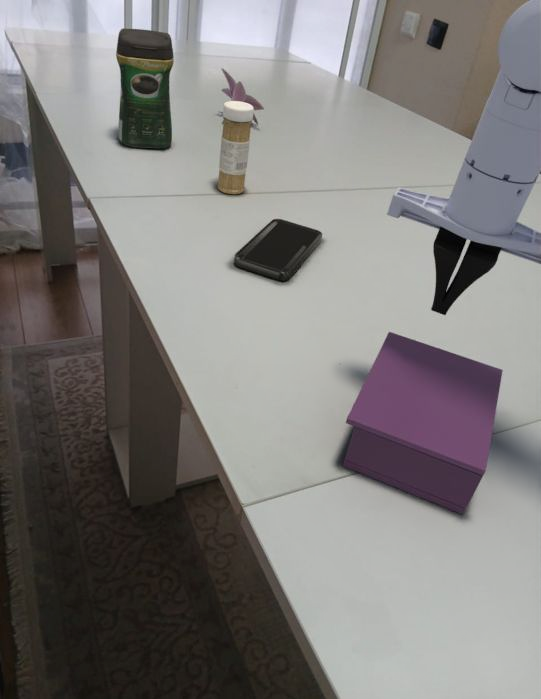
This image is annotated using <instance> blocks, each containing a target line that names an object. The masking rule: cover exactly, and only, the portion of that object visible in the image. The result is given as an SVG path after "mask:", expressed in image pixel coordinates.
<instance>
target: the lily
mask: <svg viewBox="0 0 541 699" xmlns="http://www.w3.org/2000/svg"><path fill="white" fill-rule="evenodd" d="M221 71H222V74H223V75H224V77H225V79H226V82H227V84H228V87H227V88H226V87H225V88H222V89H221V92H222V93H224V94H225V95H226V96H227V97H229V98H230V99H231V101H240V102H245V103H248V104H250V105H252V106H253V108H254V111H262V110H265V108H264V106H263V105H262V103H260V102H259V101H258V100H257V99H256V98H255V97H254V96H252V95H250V94H247V92H246V90H245V86H244V84H243V83H242V81H238V82H236V80H235V79H234V78H233V76H232V75H230V73H228V72H227V70H225V69H224V68H223V67H221ZM223 121H224V119H223V120H222V122H221V124H222V125H223ZM252 121H254V123H255V124H256V125H258V126H259V123H258V119H257V117H256V115H255V113H254V112H253V119H252Z"/></svg>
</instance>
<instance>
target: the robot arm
mask: <svg viewBox="0 0 541 699" xmlns="http://www.w3.org/2000/svg"><path fill="white" fill-rule="evenodd" d="M497 58H498V64H499V66H500V69H499V72H498V74H497V77H496V79H495V81H494V85H493V87H492V89H491V92H490V94H489V97H488V98H487V100H486V102H485V104H484V108H483V111H482V113H481V115H480V117H479V121H478V123H477V126H476V128H475V131H474V133H473V136H472V139H471V141H470V143H469V146H468V149H467V152H466V154H465V157H464V159H463V162H462V165H461V167H460V170H459V171H458V175H457V177H456V180H455V183H454V185H453V187H452V190H451V193H450V195H449V198H448V197H443V196H438V195H433V194H428V193H423V192H417V191H414V190H410V189H406V188H402V187H397V189H396V190H395V192H394V193H393V195H392V198H391V200H390V204H389V207H388V210H387V213H386V215H387V216H390V217H393V218H396V219H399V218H401V217H402V218H405V219H408V220H411V221H414V222H417V223H419V224H421V225H425V226H428V227H430V228H434V229H437V230H438V232H437V234H436V235H435V239H434V242H433V244H432V245H433V247H432V248H433V257H434V267H435V287H434V288H435V289H434V295H433V301H432V305H431V307H430V310H431V311H432V312H436V313H437V314H439V315H443V316H446V315H447V313H448V311H449V310H450V308H451V307H452V306H453V305H454V303H455V302H456V300H457V299H459V297H460V296H461V295H462V294H463V293H464V292H465V291H466V290H467V289H468V288H470V287H471V285H473V284H474V283H475V282H476V281H478V280H479V279H480V278H481V277H483V276H484V275H486V274H488V273H489V272H490V271H491V270H492V269H493V268H494V267H495V266H496V265H497V262H498V259H499V256H500V253H501V252H504V253H507V254H509V255H513V256H516V257H518V258H521V259H523V260H528V261H530V262H532V263H536V264H539V265H541V232H540V231H538V230H535V229H534V228H532V227H530V226H527V225H525V224H523V223H521V222H519V221H518V219H519V218H520V215H521V213H522V211H523V209H524V207H525V205H526V203H527V201H528V198H529V197H530V194H531V192H532V190H533V188H534V186H535V185H536V182H537V180H538V179H539V176H540V173H541V0H528V1H525V3H523V4H521V5H520V6H519V7H518V8H516V10H515V11H514V12H513V13H512V14H511V15H510V16H509V17H508V19H507V21H506V22H505V24H504V26H503V28H502V30H501V33H500V35H499V40H498V45H497ZM467 240H468V241H469V243H468V245H467V248H466V250H465V252H464V255H463V258H462V260H461V261H460V258H461V256H462V254H463V250H464V248H465V245H466V244H467ZM459 261H460V264H459V267H458V269H457V271H456V273H455V275H454V277H453V274H454V272H455V270H456V268H457V266H458V263H459ZM452 277H453V278H452ZM451 279H452V281H451ZM450 282H451V283H450Z"/></svg>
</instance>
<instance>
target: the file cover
mask: <svg viewBox="0 0 541 699" xmlns="http://www.w3.org/2000/svg"><path fill="white" fill-rule="evenodd" d="M503 371H504V370H503V369H501V368H499V367H495V366H492V365H489V364H487V363H484V362H480V361H478V360H475V359H472V358H468V357H466V356H463V355H460V354H457V353H454V352H451V351H448V350H445V349H442V348H439V347H436V346H433V345H430V344H427V343H425V342H421V341H418V340H416V339H414V338H413V339H412V338H409V337H407V336H403V335H400V334H397V333H395V332H391V331H388V333H387V335H386V337H385V339H384V341H383V343H382V345H381V347H380V349H379V351H378V353H377V356H376V358H375V360H374V362H373V363H372V365H371V368H370V370H369V372H368V374H367V376H366V378H365V380H364V382H363V384H362V386H361V389H360V391H359V393H358V395H357V397H356V399H355V401H354V402H353V404H352V407H351V409H350V412H349V413H348V414H347V417H346V420H345V424H348V425H350V426H352V427H354V428H355V427H357V428H360V429H363V430H365V431H368V432H370V433H373V434H376V435H378V436H381V437H384V438H386V439H389V440H391V441H394V442H397V443H399V444H402V445H404V446H407V447H410V448H412V449H415V450H417V451H420V452H423V453H425V454H428V455H431V456H433V457H436V458H438V459H441V460H444V461H446V462H449V463H451V464H454V465H457V466H459V467H462V468H464V469H467V470H470V471H472V472H475V473H478V474H480V475H483V476H484V475H485V473H486V472H487V466H488V460H489V455H490V448H491V442H492V438H493V431H494V424H495V418H496V413H497V407H498V401H499V394H500V389H501V384H502V377H503Z"/></svg>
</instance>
